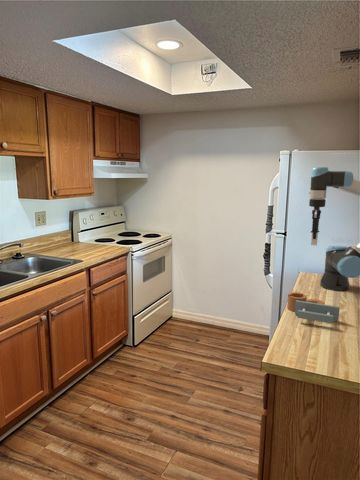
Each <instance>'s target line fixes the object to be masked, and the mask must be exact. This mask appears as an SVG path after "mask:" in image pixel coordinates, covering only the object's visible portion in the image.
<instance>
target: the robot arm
mask: <svg viewBox="0 0 360 480" xmlns="http://www.w3.org/2000/svg"><path fill="white" fill-rule="evenodd" d="M310 176H311V177H310V191H308V194H309V198H310V199H309V200H308V201H309V202H308V204H309V205H308V206H309V207H312V208H313V209H312V212H311V215H312V216H311V220H312V224H311V225H312V226H311V231H310V233H311V241H310V245H311V246H318V238H319V233H320V230H319V224H320V219H321V214H322V210H320V208H325V207H326V201H327V200H326V198H327V189H328V188H329V187H330V188H334V189H337V190H339V191H343V192H345V193H348V194H351V195H354V196H357V197H360V180H358V179H355V178H354V173H353V172H352V171H347V170H345V171H344V170H343V171H342V170H339V171H337V170H335V171H334V170H333V171H332V170H329V167H325V166H323V167H321V166H319V167H316V166H314V167H313V168H312V169H311V174H310ZM359 276H360V241H359V242H358V243H357V244H356V245H351V246H347V245H346V246H343V245H342V246H341V245H329V246H327V247H326V251H325V263H324V272H323V274H322V277H321V278H320V283H319V285H320V286H321V288H324V289H327V290H330V291H341V292H342V291H348V290H350V280H349V279H353V278H357V277H359Z"/></svg>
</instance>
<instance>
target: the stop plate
mask: <svg viewBox="0 0 360 480" xmlns="http://www.w3.org/2000/svg"><path fill="white" fill-rule="evenodd" d="M340 308H341V307H340V306H338V305H333V304H332V305H331V304H326V303H325V304H318V303H311V302H304V301H298V300H296V303H295V312H294V315H297V319H303V320H307V321H308V320H309V321H315V322H321V323H327V324H333V323H334V322H335V321H336V322H339V317H340Z"/></svg>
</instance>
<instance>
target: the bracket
mask: <svg viewBox="0 0 360 480" xmlns="http://www.w3.org/2000/svg"><path fill="white" fill-rule="evenodd" d="M307 297H308V295H307V294H304V293H301V292H292V291H291V292H288V293H287V304H286V305H287V307H286V308H287V311H290V312H293V313H295V303H296V300H298V301H304V302H311V303H318V304H325V305H326V303H325V301H322V300H320V299H315V298H310V299H309V298H307Z"/></svg>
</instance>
